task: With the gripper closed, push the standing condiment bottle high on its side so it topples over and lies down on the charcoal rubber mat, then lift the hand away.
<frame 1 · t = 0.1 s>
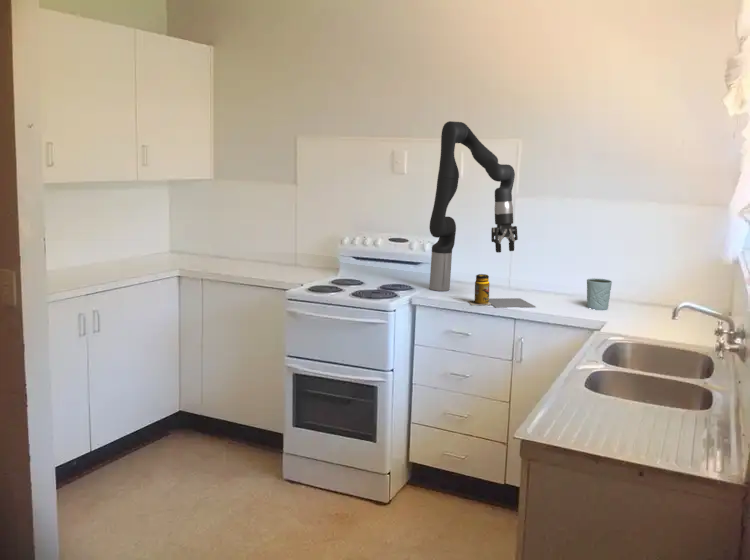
hand: (505, 251, 316), 22 cm above the countertop, tool pointing down, fingers open, 8 cm apart
mat: (508, 303, 323), on the countertop
green embossed plant pot: (596, 308, 322), on the countertop
condiment: (479, 303, 320), on the countertop, touching mat
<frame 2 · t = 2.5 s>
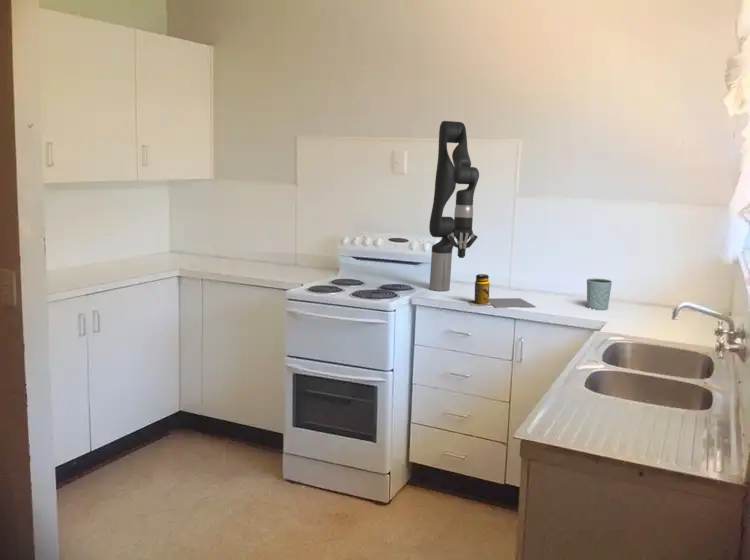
hand: (461, 257, 314), 20 cm above the countertop, tool pointing down, fingers closed
nothing on the countertop moved.
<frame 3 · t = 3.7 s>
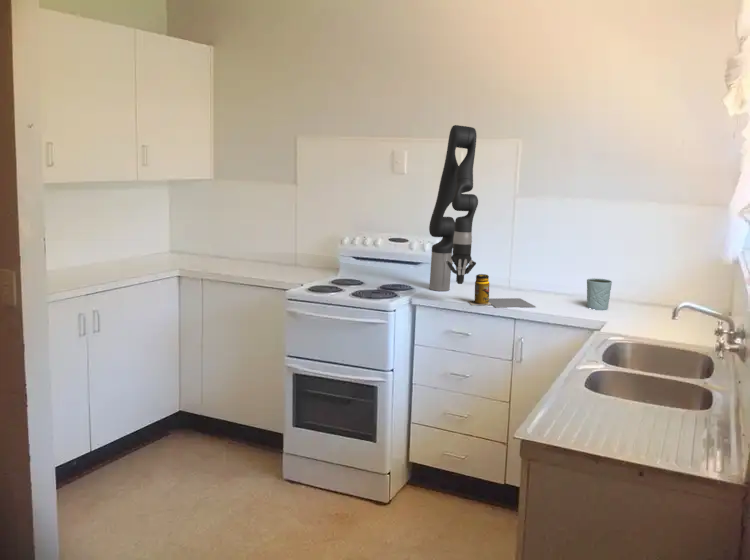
hand: (459, 283, 316), 9 cm above the countertop, tool pointing down, fingers closed
nothing on the countertop moved.
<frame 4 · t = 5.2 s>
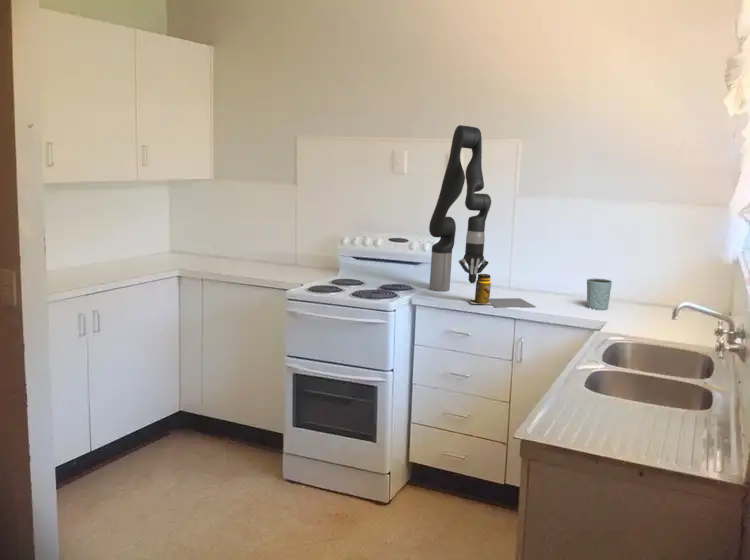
hand: (471, 282, 317), 9 cm above the countertop, tool pointing down, fingers closed
condiment: (479, 302, 320), on the countertop, touching gripper, mat
everything else where it was.
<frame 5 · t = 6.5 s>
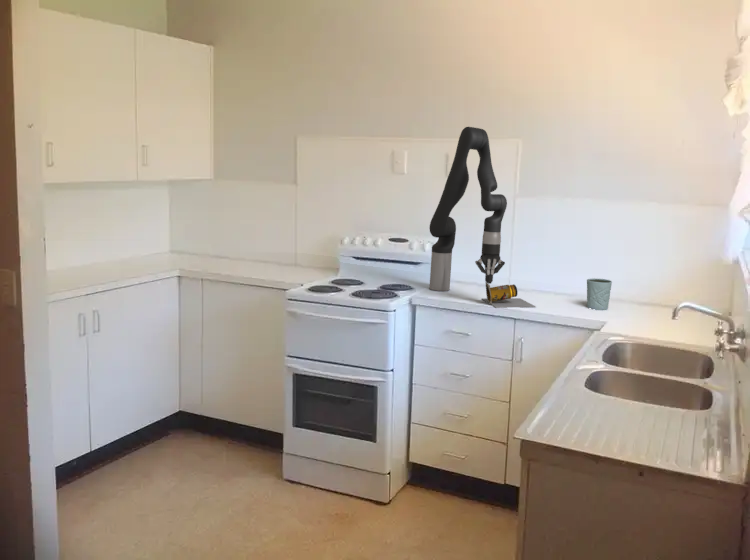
hand: (488, 283, 319), 9 cm above the countertop, tool pointing down, fingers closed
condiment: (487, 293, 319), point 5 cm above the countertop, touching gripper, mat
everything else where it was.
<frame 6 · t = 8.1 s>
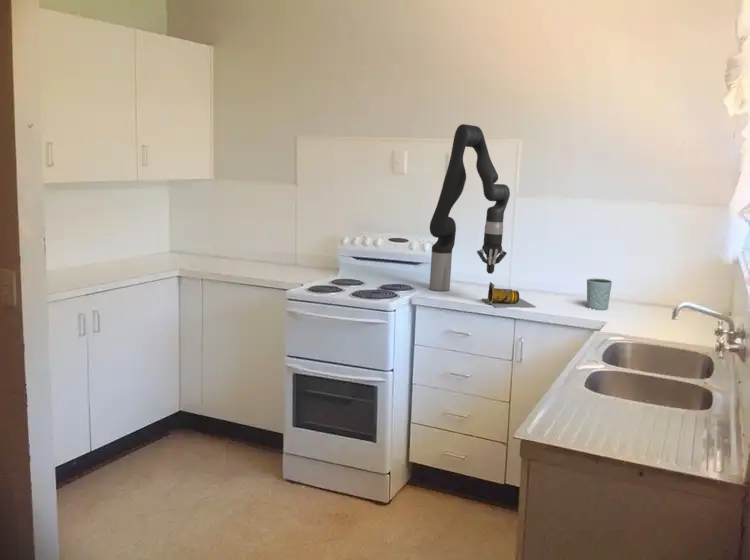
hand: (489, 273, 318), 13 cm above the countertop, tool pointing down, fingers closed
condiment: (489, 292, 319), point 5 cm above the countertop, touching mat
everything else where it was.
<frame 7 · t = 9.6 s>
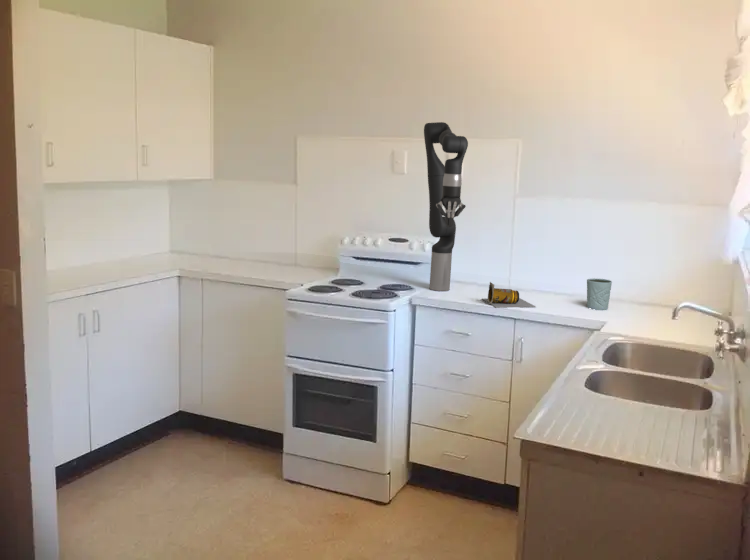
hand: (449, 226, 316), 32 cm above the countertop, tool pointing down, fingers closed
nothing on the countertop moved.
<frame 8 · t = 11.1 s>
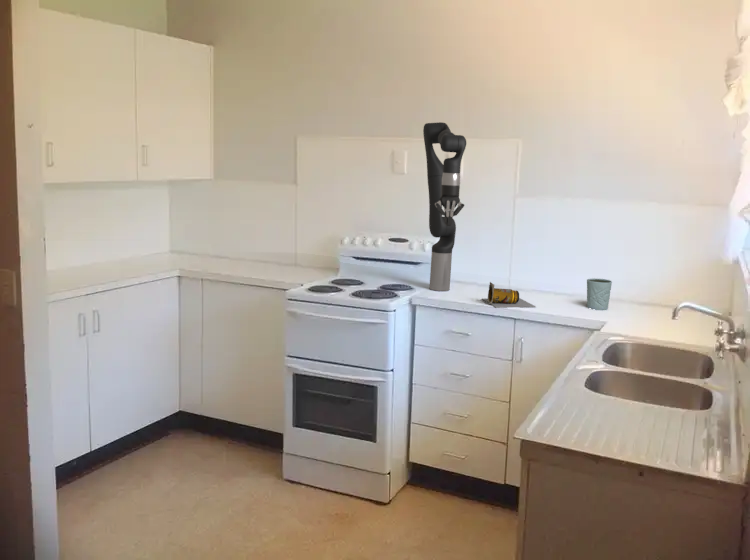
hand: (448, 225, 316), 32 cm above the countertop, tool pointing down, fingers closed
nothing on the countertop moved.
at the end: condiment tilted 93°; condiment touching mat; condiment inside the target area (0.9 cm from its centre), point 4.7 cm above the countertop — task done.
